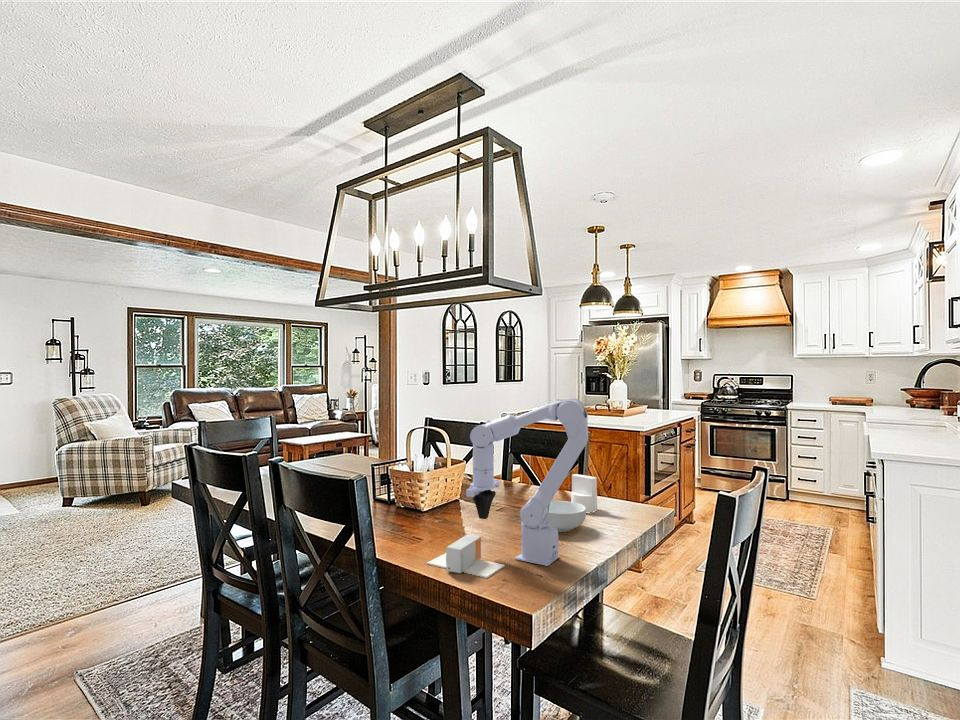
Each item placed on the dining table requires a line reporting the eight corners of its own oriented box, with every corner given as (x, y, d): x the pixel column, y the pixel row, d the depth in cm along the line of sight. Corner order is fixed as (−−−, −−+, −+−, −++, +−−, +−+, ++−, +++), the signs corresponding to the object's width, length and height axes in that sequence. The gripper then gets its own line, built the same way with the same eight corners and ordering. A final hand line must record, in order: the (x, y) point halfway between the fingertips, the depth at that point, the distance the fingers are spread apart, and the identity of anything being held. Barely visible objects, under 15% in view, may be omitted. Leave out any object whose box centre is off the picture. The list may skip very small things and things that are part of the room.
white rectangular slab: (504, 566, 139) (504, 565, 139) (486, 578, 131) (486, 576, 131) (446, 553, 148) (446, 552, 148) (426, 564, 141) (426, 562, 141)
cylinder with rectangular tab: (602, 510, 193) (601, 476, 194) (587, 515, 187) (587, 480, 187) (580, 505, 200) (580, 472, 200) (566, 510, 193) (566, 476, 193)
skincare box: (482, 558, 144) (460, 574, 133) (467, 555, 146) (445, 571, 135) (482, 535, 144) (460, 549, 133) (467, 532, 146) (445, 546, 135)
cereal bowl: (597, 532, 168) (597, 509, 168) (553, 540, 160) (553, 516, 160) (563, 518, 183) (563, 497, 183) (522, 525, 175) (522, 503, 175)
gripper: (483, 463, 158) (484, 510, 158) (456, 471, 145) (456, 522, 145) (505, 465, 154) (505, 513, 154) (479, 474, 142) (479, 526, 142)
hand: (483, 518), depth 149 cm, fingers closed
